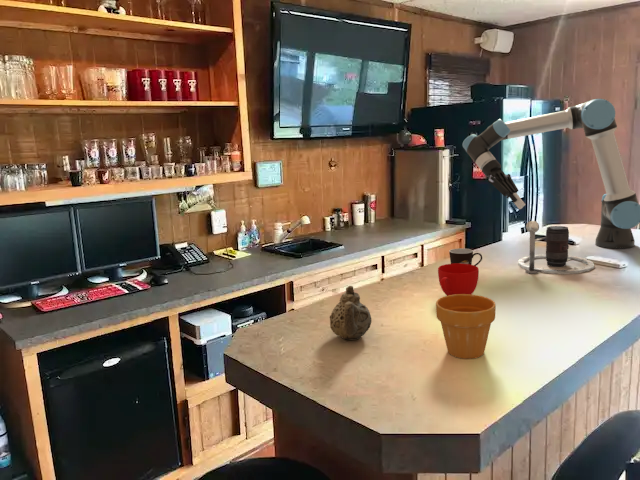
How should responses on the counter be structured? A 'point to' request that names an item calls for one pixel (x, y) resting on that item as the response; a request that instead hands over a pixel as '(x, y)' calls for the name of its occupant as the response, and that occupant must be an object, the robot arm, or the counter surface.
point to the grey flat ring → (576, 270)
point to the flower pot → (465, 323)
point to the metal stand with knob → (532, 245)
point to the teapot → (350, 316)
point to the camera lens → (557, 246)
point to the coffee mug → (462, 256)
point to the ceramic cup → (458, 278)
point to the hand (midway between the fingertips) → (522, 206)
